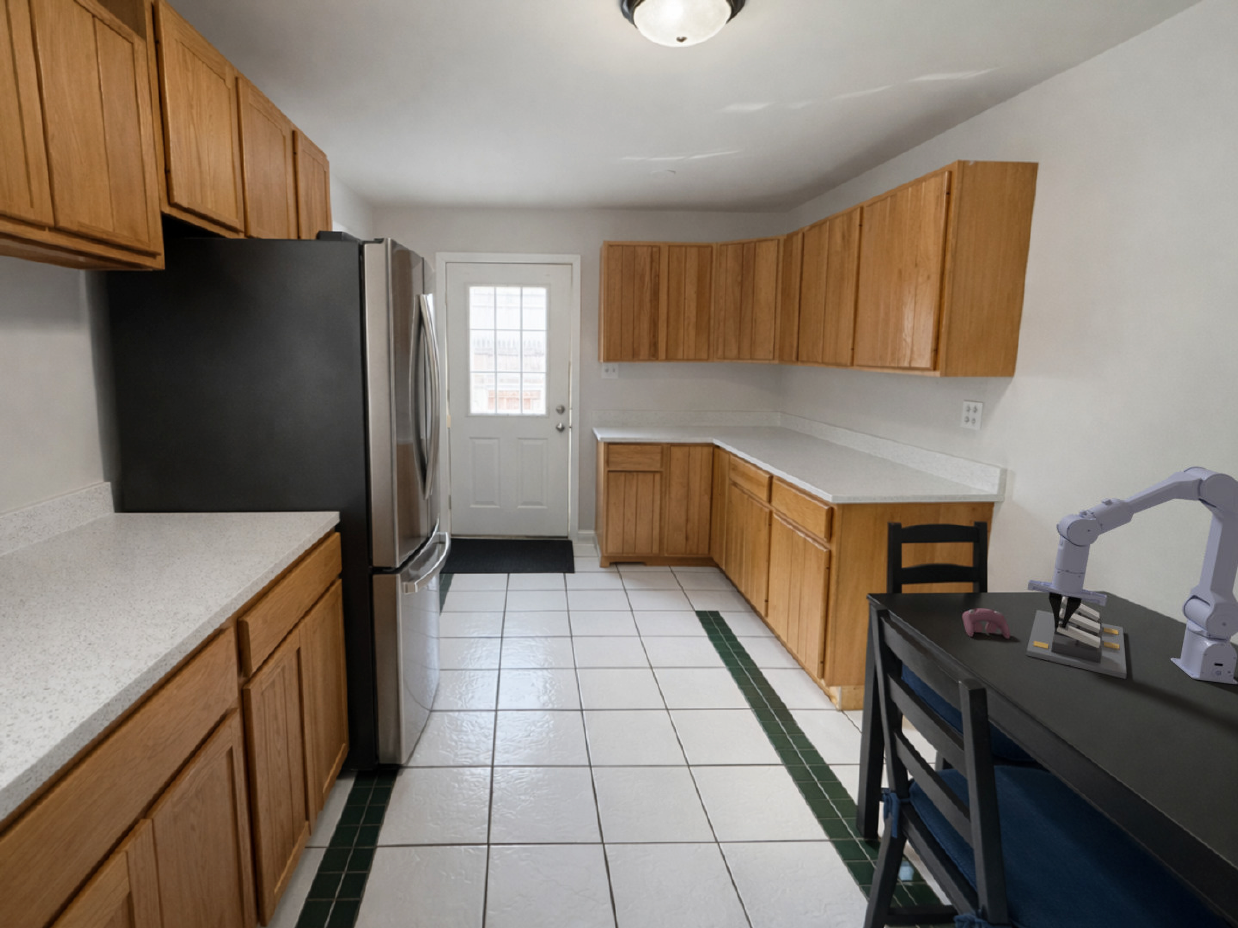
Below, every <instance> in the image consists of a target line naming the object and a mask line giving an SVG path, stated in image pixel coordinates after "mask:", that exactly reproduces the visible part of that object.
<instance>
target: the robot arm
mask: <svg viewBox="0 0 1238 928" xmlns="http://www.w3.org/2000/svg"><path fill="white" fill-rule="evenodd" d="M1175 499H1176V500H1177V499H1178V500H1185V501H1186V500H1187V501H1194V502H1200V503H1201V504H1202V505H1203V506H1204V507H1205V508H1206V509H1207V510H1209V512H1211V514H1212V515H1211V522H1210V526H1209V532H1208V536H1207V540H1206V541H1207V542H1206V547H1205V551H1204V552H1205V553H1204V556H1203V557H1204V558H1203V561H1202V566H1201V567H1202V568H1201V573H1200V578H1199V582H1198V584H1197V585H1195V586H1194V587H1192V588H1191V589H1190V592H1189V595H1188V597H1187V598H1186V600H1184V602H1183V603H1182V608H1181V610H1182V611H1181V612H1182V613H1183V616H1184V617H1185V618H1186V624H1185V625H1186V627H1185V631H1184V638H1183V642H1182V643H1183V644H1182V648H1181V654H1180V658H1176V657H1175V658H1174V657H1171V658H1170V661H1171V662H1173V663H1174V664H1175V665H1176V666H1177V667H1178V668H1179V669H1181V670H1182V671H1183V672H1184V673H1185V674H1186V675H1188V676H1189V677H1191V678H1192V679H1194V680H1200V681H1208V682H1215V683H1223V684H1231V685H1238V681H1237V680H1236V679H1235V678H1234V675H1235V671H1236V665H1237V661H1238V654H1237V651H1236V649H1235V647H1234V646H1233V645H1232V644H1231V639H1232V637H1233V636H1235V635H1237V634H1238V600H1237V598H1236V596H1235V594H1234V592H1233V591H1234V588H1235V587H1234V585H1235V582H1236V576H1237V572H1238V480H1236V479H1235V478H1234V477H1233V476H1231V475H1229V474H1227V473H1223V472H1217V471H1214V470H1211V469H1206V468H1205V467H1202V466H1196V465H1195V466H1189V467H1187V468H1185V469H1183V470H1182V471H1181V470H1179V471H1176V472H1174V473H1171V475H1169V476H1168V477H1167V478H1166V479H1163V480H1161V481H1159V482H1157V483H1155V484H1153V485H1151V486H1149V487H1148V488H1145V489H1143V490H1141V491H1139V492H1137V493H1136V494H1133V495H1130V496H1129V497H1127V498H1125V499H1119V498H1115V497H1114V498H1111V499H1110V498H1104V499H1102V500H1100V501H1101V503H1100V504H1097V505H1095V506H1093V507H1090V508H1088V509H1086V510H1085V509H1081V510H1079V512H1078V513H1079V514H1076V513H1075V514H1074V513H1072V514H1066V515H1065V516H1063V517H1062V518H1061V520H1060V521H1058V523H1057V524H1056V532H1057V533H1058V534H1059V536H1060V537H1059V543H1058V546H1057V552H1056V557H1055V565H1054V569H1053V574H1052V575H1053V576H1052V582H1049V581H1040V580H1035V579H1034V580H1033V579H1029V580H1028V583H1027V588H1026V590H1027V591H1031V592H1032V591H1035V592H1041V593H1045V594H1049V595H1048V600H1049V603H1050V606H1051V609H1052V613H1053V614H1054V622H1055V625H1054V627H1055V628H1058V625H1059V616H1060V608H1062V607H1061V606H1062V599H1063V596H1064V597H1068V599H1067V605H1066V604H1065V609H1066V611H1065V615H1064V618H1063V622H1062V627H1063V628H1066V625H1067V623H1068V621H1069V619H1070V618H1071V616H1072V615H1073V613H1074V612H1075V611H1076V612H1077V609H1078V608H1079V606H1080V605H1081V603H1082V601H1084V602H1088V603H1093V604H1097V605H1099V606H1102V607H1106V603H1107V598H1108V596H1107V595H1106V594H1102V593H1099V592H1095V591H1091V590H1087V589H1084V583H1085V577H1086V571H1087V567H1088V560H1089V555H1090V549H1091V545H1093V544H1094V543H1095V542H1096V541H1097V540H1098V538H1099V536H1101V535H1102V534H1105V533H1108V532H1110V531H1112V530H1115V529H1117V528H1119V527H1122V526H1124V525H1126V524H1128V523H1131V521H1132V519H1133V518H1134V517H1133V516H1134V515H1135V514H1137V513H1140V512H1143V511H1145V510H1146V511H1147V510H1148V509H1151V508H1153V507H1157V506H1158V505H1161V504H1164V503H1167V502H1169V501H1173V500H1175Z"/></svg>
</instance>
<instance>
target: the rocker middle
mask: <svg viewBox="0 0 1238 928" xmlns="http://www.w3.org/2000/svg"><path fill="white" fill-rule="evenodd" d="M1065 611H1066V608H1061V611H1060V616H1059V617H1060V618H1064V615H1065ZM1069 621H1070V622H1072V623H1075V624H1077V625H1079V626H1082V627H1084V628H1087V629H1089V630H1091V631H1094V632H1096V633H1099V631H1100V624H1099V623H1096V622H1094V621H1092V620H1089V619H1087V618H1084V617H1082V616H1079V615H1077V614H1075V613H1073V615H1072V616H1071V618H1070V619H1069Z"/></svg>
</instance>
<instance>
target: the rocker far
mask: <svg viewBox="0 0 1238 928" xmlns="http://www.w3.org/2000/svg"><path fill="white" fill-rule="evenodd" d="M1067 599H1068V597H1064V596H1062V601H1061V604H1064V605H1065V606H1066V605H1067ZM1078 611H1079V612H1081V613H1082V614H1084V615H1086V616H1088V617H1090V618H1092V619H1093V620H1095V621H1098V619H1099V616H1100V612H1098V611H1096V610H1095V609H1093V608H1091V607H1089V606H1087V605H1085V604H1083V603H1082V602H1081V605H1080V606H1079V608H1078V609H1077V610H1076V612H1078Z"/></svg>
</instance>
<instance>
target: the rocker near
mask: <svg viewBox="0 0 1238 928" xmlns="http://www.w3.org/2000/svg"><path fill="white" fill-rule="evenodd" d="M1057 632H1060V633H1062V634H1065V635H1067V636H1070V637H1072V638H1074V639H1077V640H1079V641H1082V642H1084V643H1087V644H1089V645H1092V646H1094V647H1096V648H1099V646H1100V638H1099V637H1096V636H1094V635H1091V634H1089V633H1086V632H1084V631H1081V630H1079V629H1076V628H1074V627H1071V626H1069V625H1066V628H1063V627H1062V622H1059V625H1058V628H1057Z"/></svg>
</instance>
